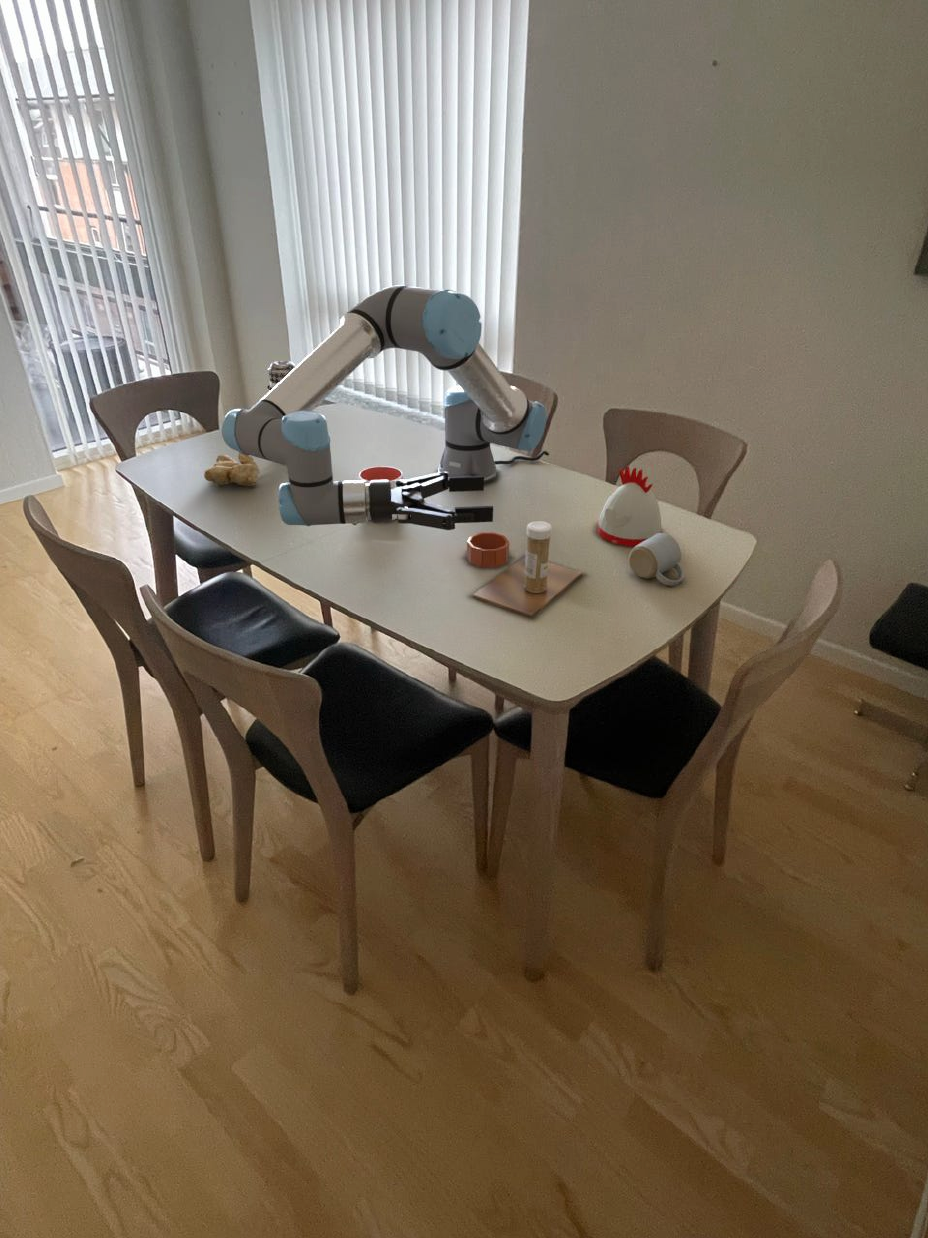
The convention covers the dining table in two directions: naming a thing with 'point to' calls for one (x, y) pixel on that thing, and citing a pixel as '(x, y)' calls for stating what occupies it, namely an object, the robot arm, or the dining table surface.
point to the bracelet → (487, 550)
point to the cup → (382, 476)
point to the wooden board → (514, 596)
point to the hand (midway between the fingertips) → (488, 497)
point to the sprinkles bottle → (537, 556)
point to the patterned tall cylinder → (279, 372)
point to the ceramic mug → (657, 558)
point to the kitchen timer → (630, 512)
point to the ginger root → (233, 470)
